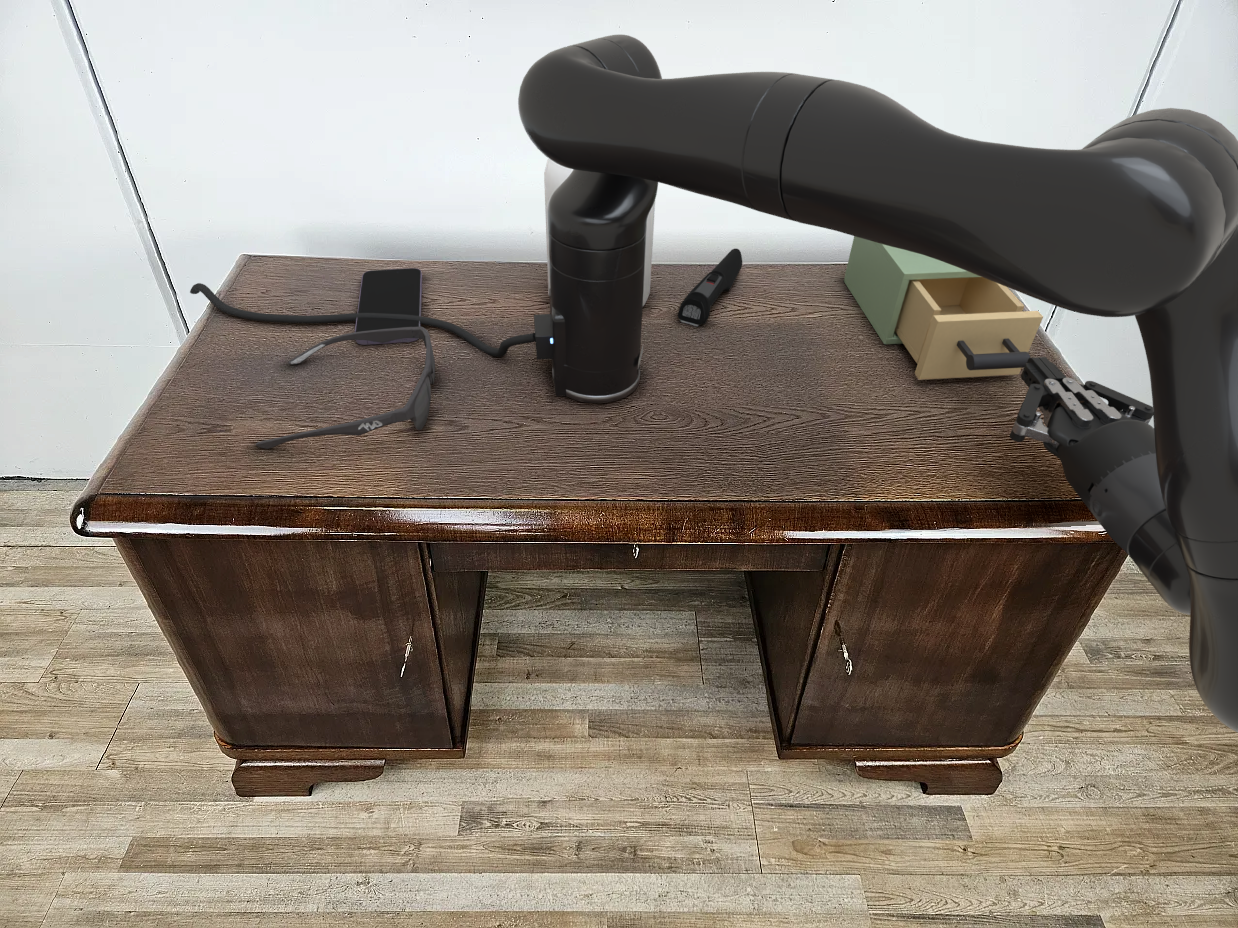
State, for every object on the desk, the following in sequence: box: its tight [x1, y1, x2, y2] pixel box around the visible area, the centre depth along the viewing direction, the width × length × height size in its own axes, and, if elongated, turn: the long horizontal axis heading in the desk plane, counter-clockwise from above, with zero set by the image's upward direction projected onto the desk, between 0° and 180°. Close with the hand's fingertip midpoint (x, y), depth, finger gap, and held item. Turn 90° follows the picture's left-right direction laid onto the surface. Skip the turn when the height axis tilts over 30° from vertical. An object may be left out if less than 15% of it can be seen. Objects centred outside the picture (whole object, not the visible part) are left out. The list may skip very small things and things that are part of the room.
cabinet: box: [843, 236, 981, 345], centre depth 97 cm, size 15×13×9 cm
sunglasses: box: [255, 326, 436, 450], centre depth 83 cm, size 16×17×5 cm
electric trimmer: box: [677, 248, 743, 327], centre depth 101 cm, size 4×16×3 cm, turn 154°
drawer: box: [895, 277, 1044, 381], centre depth 89 cm, size 18×11×7 cm, turn 7°
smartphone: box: [354, 267, 423, 346], centre depth 97 cm, size 7×1×15 cm
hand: (1032, 365), depth 77 cm, fingers closed
